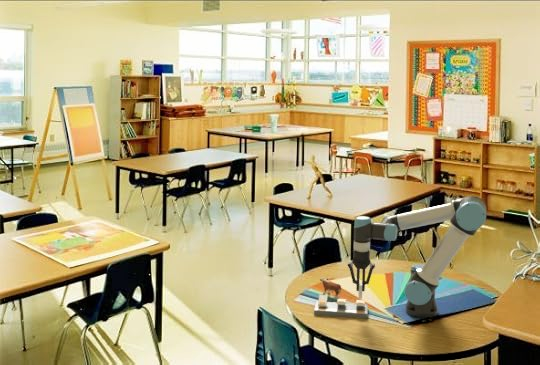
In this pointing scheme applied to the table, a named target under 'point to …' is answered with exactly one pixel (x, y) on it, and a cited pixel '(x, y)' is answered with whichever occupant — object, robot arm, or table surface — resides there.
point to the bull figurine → (331, 286)
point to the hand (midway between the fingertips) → (360, 297)
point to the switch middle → (341, 301)
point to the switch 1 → (322, 300)
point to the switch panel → (342, 310)
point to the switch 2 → (360, 302)
